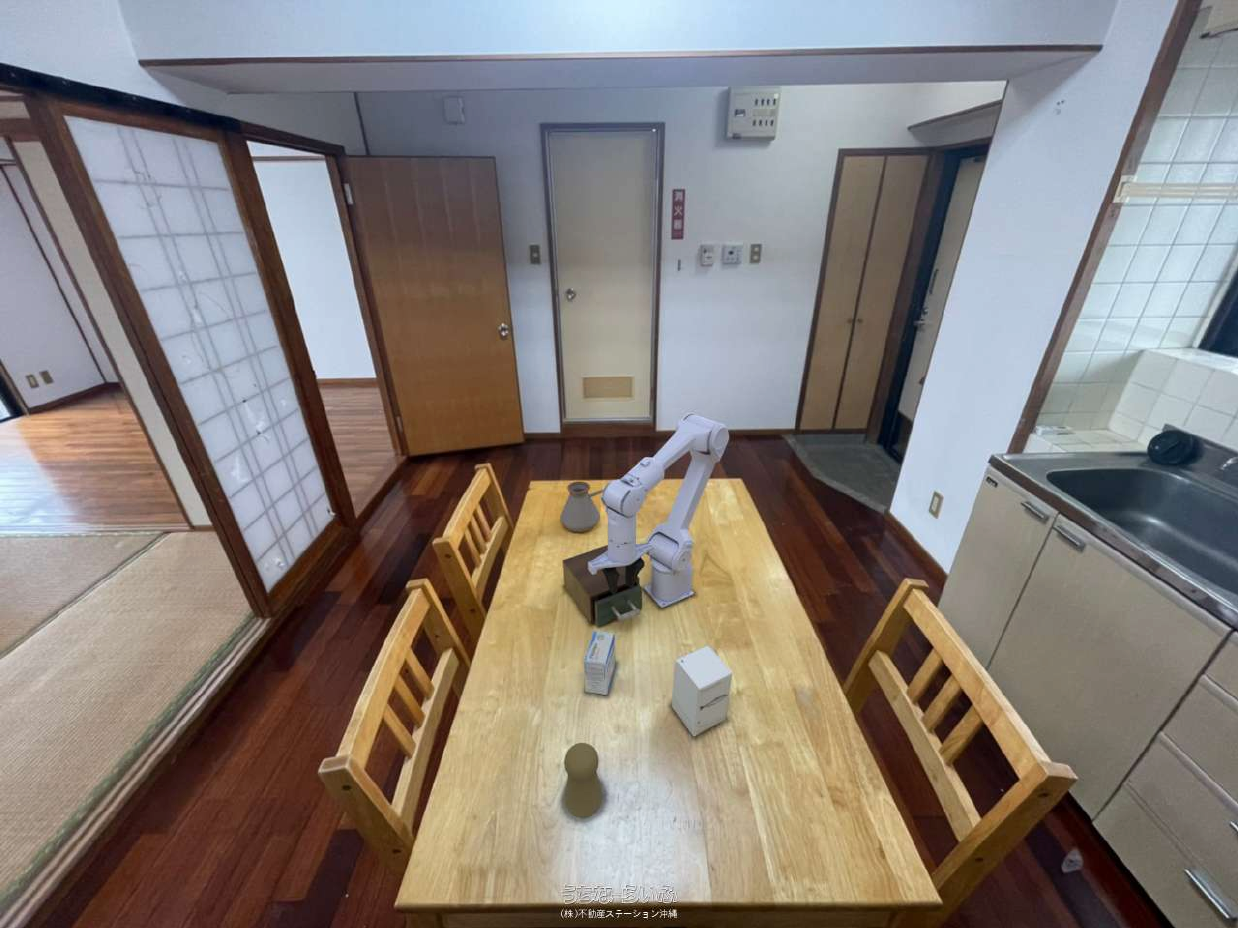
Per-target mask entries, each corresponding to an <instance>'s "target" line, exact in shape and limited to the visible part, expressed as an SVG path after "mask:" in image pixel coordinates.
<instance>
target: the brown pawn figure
mask: <svg viewBox="0 0 1238 928" xmlns="http://www.w3.org/2000/svg"><path fill="white" fill-rule="evenodd" d="M599 761H600V760H599V754H598V752H597V750H596V749H595V748H594V747H593V746H592V745H591V744H590V743H586V742H578V743H575V744H574V745H572V746H570V747H569V749H567V751H566V753H565V756H564V761H563V763H564V765H563V766H564V770H565V772H566V774H567V778H566V786H565V793H564V794H565V795H564V805H565V807H566V809H567V812H569V813H570V814H571V815H572V816H574V817H577V818H581V819H584V818H585V819H586V818H588V817H589V818H590V817H592V816H593V815H595V814H596V813H597V812H598V811H599V809H600V808H601V806H602V804H603V797H604V796H603V790H602V786H601V783H600V778H599V775H598V771H597V770H598V768H599V763H600V762H599Z"/></svg>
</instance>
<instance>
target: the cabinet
mask: <svg viewBox="0 0 1238 928" xmlns="http://www.w3.org/2000/svg"><path fill="white" fill-rule="evenodd" d="M607 550H608V544H606V545H603V546H600V547H597V548H594V549H592V550H588V551H586V552H582V553H580V554H577V555H573V556H570V557H568V558H565V559H562V572H563V585H564V588H565V590H566V591H567V592H568V594H569V595H570V596H571V598H572V600H573V601H574V603H576V606H577V607H578V608H579V610H580V611H581V612H582V614H583V616H584V617H585V618H586V620H587V621H588V623H589V624H590V625H594V624H595V616H594V608H593V598H596V597H599V596H601V595H604V594H606V593H609V592H611V591H610V590H609V586H608V582H607V580H606V577H605V575H604V573H603V571H602V570H599V571H597V573H596V574H594V575H592V574H591V572H590V571H589V570H588V562H590V561H592V560H594V559H596V558H597V557H599V556H600V555H602V554H603V553H605V552H606V551H607ZM616 570H617V571H618V573H619V574H620V576H619V578H618V583H617V589H619V588H622V587H624V586H627V584H626V581H625V566H619V567H616ZM637 585H640V577H639V575H638V576H637V578H636V581H635V584H634V587H635V586H637Z"/></svg>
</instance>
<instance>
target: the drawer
mask: <svg viewBox="0 0 1238 928" xmlns="http://www.w3.org/2000/svg"><path fill="white" fill-rule="evenodd" d="M593 608H594V616H595V623H594V624H595V625H596V627H597V628H600V627H601V626H604V625H607V624H609V623H612V622H614V621H618V622H619V623H623V622H625V621H628V620H630V619H632V618H635V617H638V616H640V615H641V610H642V609H643V586H642V585H640V584H639V585H637V586H635V587H633V588H632V589H630V588H629V587H628V585H627V586H624V587H622V588H619V589H617V594H616V595H613V594H612V593H611V592H609V593H606V594H604V595H601V596H599V597H596V598H593Z"/></svg>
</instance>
